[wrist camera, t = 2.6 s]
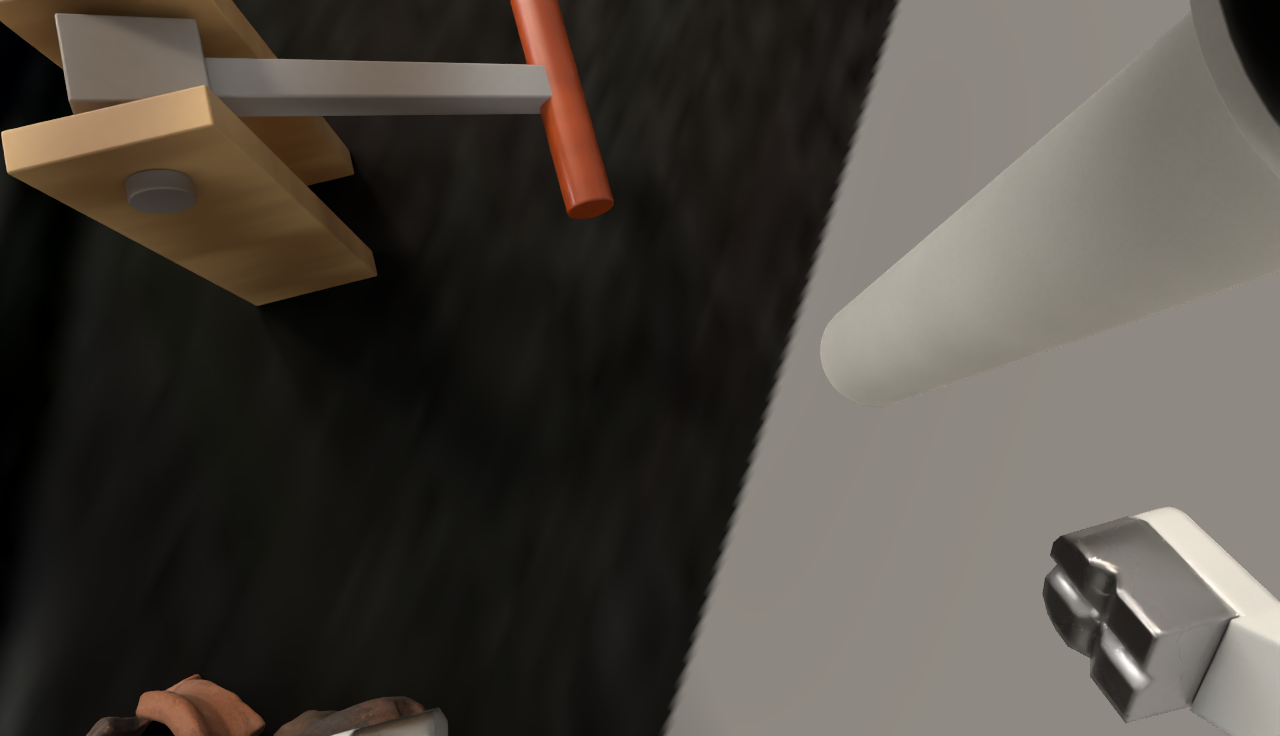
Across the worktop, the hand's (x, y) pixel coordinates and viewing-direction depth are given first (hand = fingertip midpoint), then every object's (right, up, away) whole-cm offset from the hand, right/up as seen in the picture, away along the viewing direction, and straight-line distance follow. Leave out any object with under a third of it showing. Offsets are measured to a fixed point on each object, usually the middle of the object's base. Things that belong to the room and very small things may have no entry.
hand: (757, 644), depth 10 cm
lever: (-10, +11, +12) cm, 19 cm away
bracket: (-14, +8, +21) cm, 26 cm away
